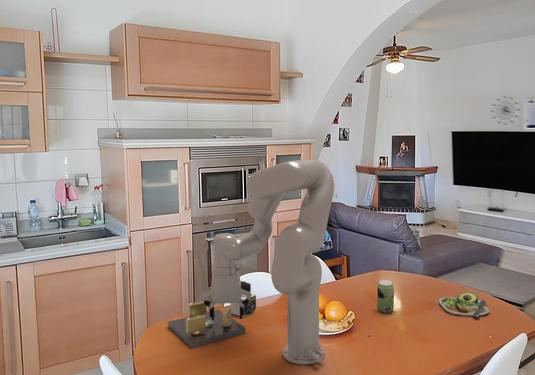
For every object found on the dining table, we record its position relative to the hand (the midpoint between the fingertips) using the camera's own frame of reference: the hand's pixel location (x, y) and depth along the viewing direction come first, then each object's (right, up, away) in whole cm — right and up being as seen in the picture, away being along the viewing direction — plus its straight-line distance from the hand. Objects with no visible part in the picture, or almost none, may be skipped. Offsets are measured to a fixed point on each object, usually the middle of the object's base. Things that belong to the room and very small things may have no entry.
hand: (227, 318), depth 159 cm
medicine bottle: (+5, -3, +17) cm, 18 cm away
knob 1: (-10, -3, -6) cm, 12 cm away
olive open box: (-11, -2, +7) cm, 14 cm away
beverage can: (+59, -2, +16) cm, 61 cm away
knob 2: (0, -2, 0) cm, 2 cm away
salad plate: (+90, -2, +19) cm, 92 cm away
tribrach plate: (-7, -5, +2) cm, 9 cm away
